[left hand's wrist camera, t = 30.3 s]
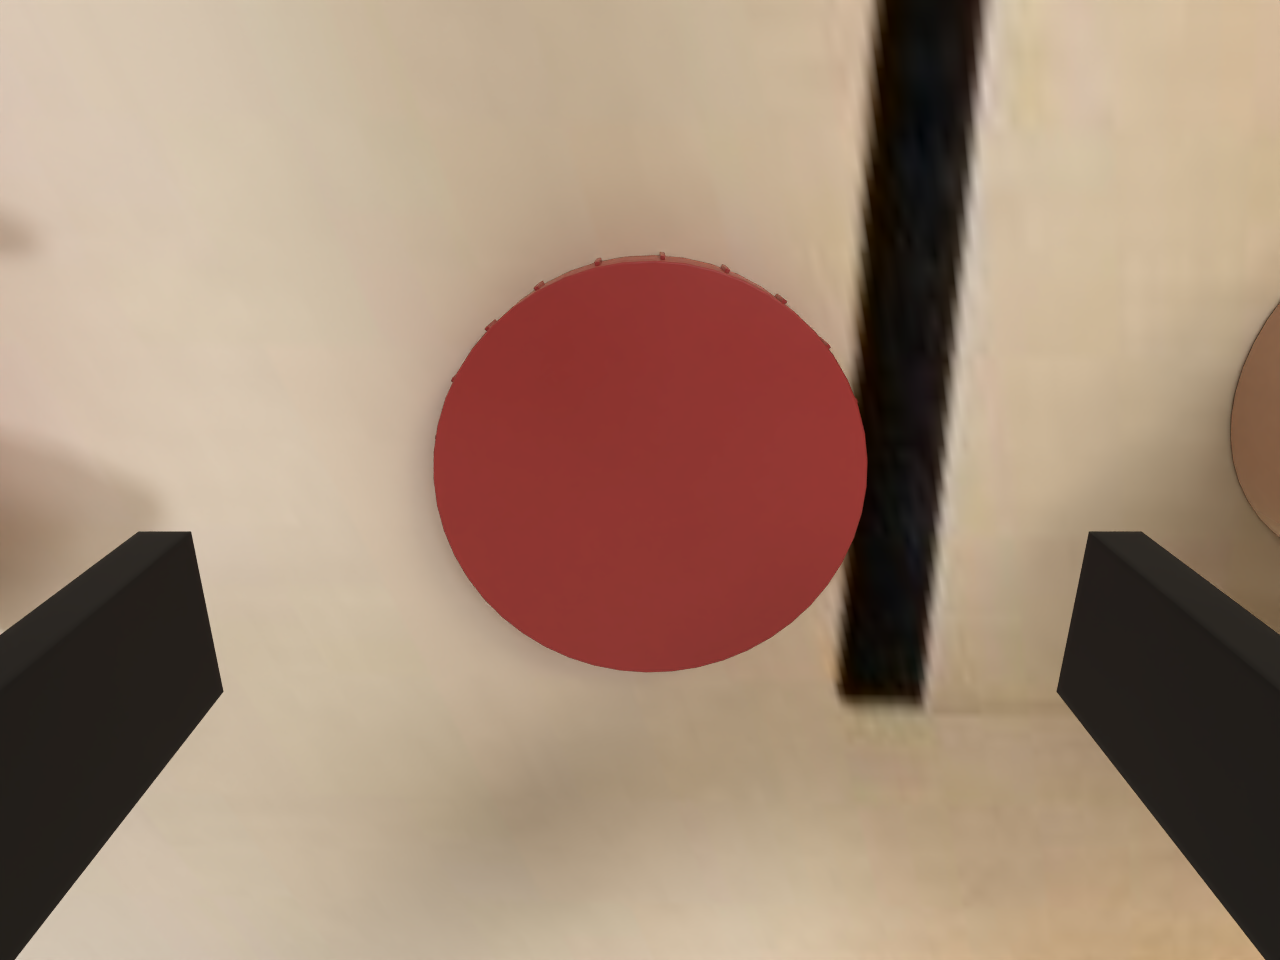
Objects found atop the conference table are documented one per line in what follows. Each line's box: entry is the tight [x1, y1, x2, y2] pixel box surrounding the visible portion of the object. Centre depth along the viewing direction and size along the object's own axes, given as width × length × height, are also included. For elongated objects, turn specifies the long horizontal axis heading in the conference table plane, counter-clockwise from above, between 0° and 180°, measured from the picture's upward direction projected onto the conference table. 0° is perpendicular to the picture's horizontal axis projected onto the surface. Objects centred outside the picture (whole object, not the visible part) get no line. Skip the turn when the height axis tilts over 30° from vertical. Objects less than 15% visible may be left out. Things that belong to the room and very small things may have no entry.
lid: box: [434, 252, 867, 672], centre depth 22 cm, size 11×11×2 cm
